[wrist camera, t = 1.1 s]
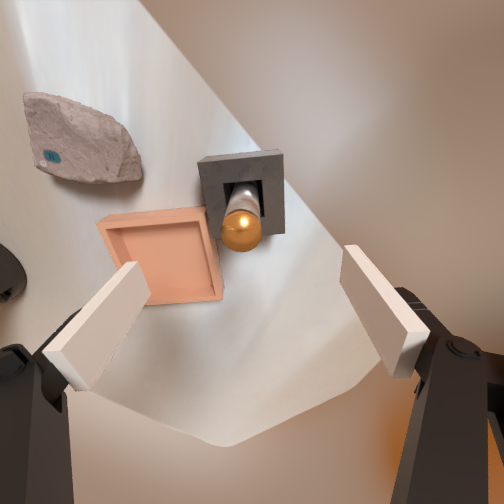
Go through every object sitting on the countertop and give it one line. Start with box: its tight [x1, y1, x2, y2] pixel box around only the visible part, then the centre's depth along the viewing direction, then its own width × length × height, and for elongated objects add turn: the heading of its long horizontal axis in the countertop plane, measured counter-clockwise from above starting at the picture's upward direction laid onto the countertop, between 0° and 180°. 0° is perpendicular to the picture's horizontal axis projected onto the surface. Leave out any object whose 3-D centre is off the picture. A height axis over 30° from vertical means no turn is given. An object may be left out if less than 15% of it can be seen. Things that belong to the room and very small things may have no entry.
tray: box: [96, 206, 224, 305], centre depth 37 cm, size 16×16×4 cm
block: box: [197, 149, 285, 239], centre depth 31 cm, size 10×10×6 cm
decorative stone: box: [23, 92, 142, 185], centre depth 28 cm, size 13×10×6 cm
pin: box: [220, 180, 261, 252], centre depth 27 cm, size 4×4×16 cm
